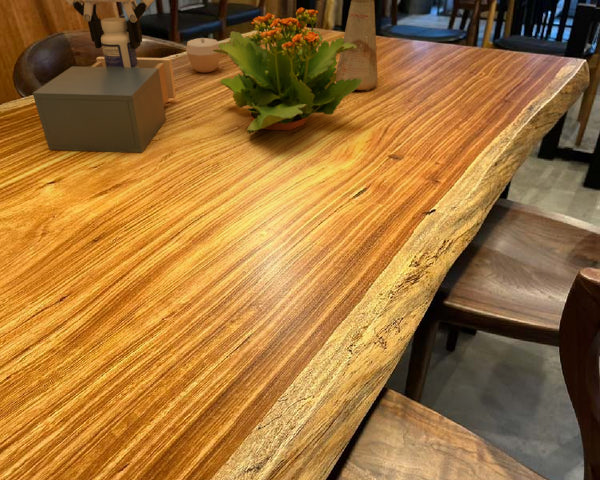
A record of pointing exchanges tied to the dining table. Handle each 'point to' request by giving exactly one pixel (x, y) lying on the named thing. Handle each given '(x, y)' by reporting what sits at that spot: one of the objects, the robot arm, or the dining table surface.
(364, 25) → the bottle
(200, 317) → the dining table surface
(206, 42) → the lidded pot
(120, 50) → the pill bottle
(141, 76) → the dark grey box
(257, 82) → the potted flower
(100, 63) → the drawer
